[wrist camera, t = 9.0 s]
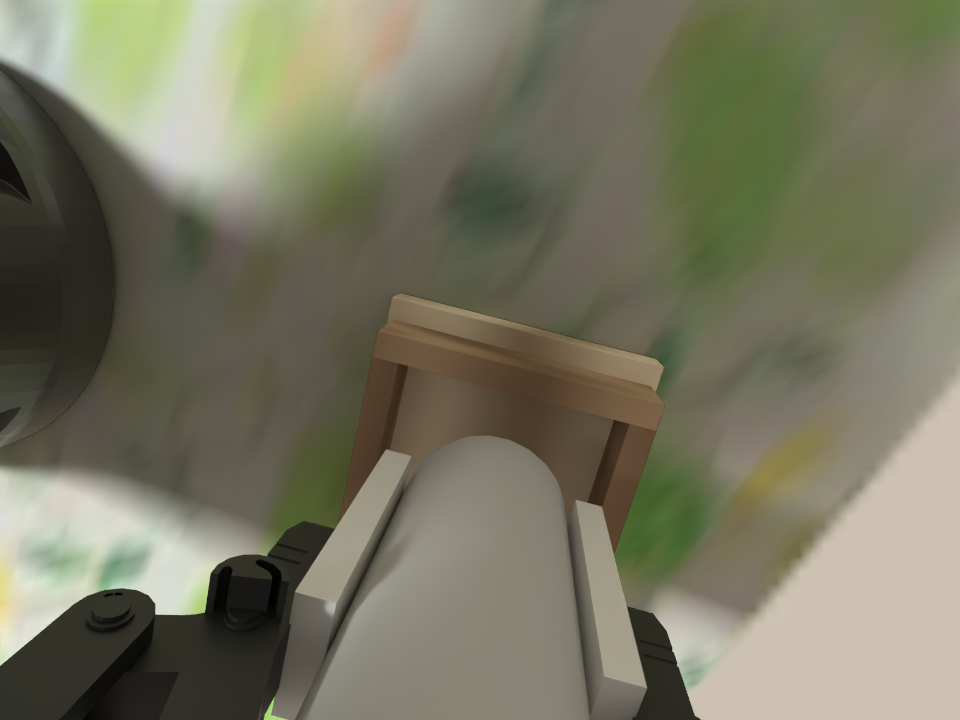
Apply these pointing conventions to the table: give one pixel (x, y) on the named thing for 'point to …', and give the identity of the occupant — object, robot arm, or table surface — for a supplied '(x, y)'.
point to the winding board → (509, 401)
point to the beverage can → (463, 601)
